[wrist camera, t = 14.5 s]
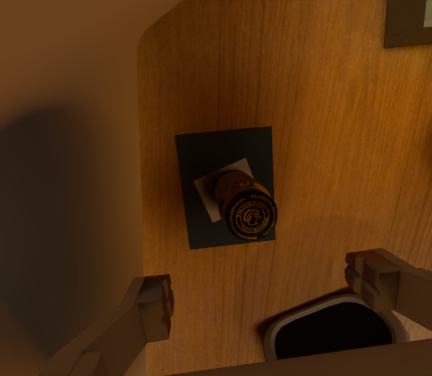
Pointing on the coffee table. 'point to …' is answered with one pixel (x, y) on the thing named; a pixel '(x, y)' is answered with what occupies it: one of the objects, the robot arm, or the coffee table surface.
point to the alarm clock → (331, 329)
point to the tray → (408, 23)
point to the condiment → (238, 201)
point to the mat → (212, 161)
